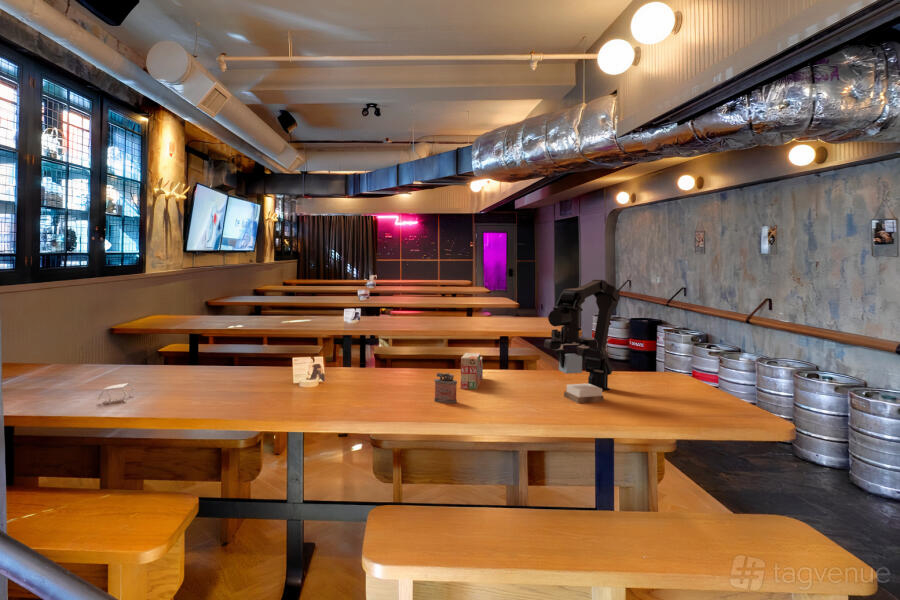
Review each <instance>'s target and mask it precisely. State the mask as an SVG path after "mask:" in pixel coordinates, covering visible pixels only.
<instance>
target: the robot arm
mask: <svg viewBox="0 0 900 600" xmlns="http://www.w3.org/2000/svg"><path fill="white" fill-rule="evenodd" d="M561 291H562V292H561V293H560V295H559V297H558V300H557V302H556V304H555V306H553V308H552V310H551V311H550V312H549V314H548V315H547V316H548V317H547V319H548V323H549V324H550V325H551V326H553V327H561V328H560V330H558V329H551V339H545V340H544V342H543V347H544V348H546V349H549V350H552V351H554V352H555V354H556V356H557V359H558V363H559V362H560V365H561V367H562V368H563V367H564V360H565V354H566V349H564V347H576V351H577V355H580V356H582V362H583V361H584V362H583V363H584V366H585V367H584V369H585V372H586V373H588V374H589V376H588V379H587V380H588V381H587V382H588V383H589V384H591V385H594V386H596V387H599V388H601V389H602V391H609V390H610V389H611V388H609V387H608V381H609V380H608V379H609V376H610V375H612V373H613V367H612V365H611V363H610V361H609V353H608V352H607V349H606V347H607V342H608V337H609V330H610V325H611V318H612V314H613V313H612V312H613V311H615V309H616V308H617V307H618V304H619V302H620V298H621V295H620V292H619V291H618V290H617V288H616V287H615V286H613V285H611V284H609V283H608V282H607V281H606V280H604V279H591V281H590V282H588V283H585V284H583V285H580V286H578V287H576V288H575V287H573V288H565V289H563V290H561ZM592 295H593V296H594V297H595V299H596V300H595V303H596V306H597V308H598V313H597V318H596V323H595V324H596V325H595V330H594V335H593V338H592V337H586V338H585V337H584V338H580V332H581V331H582V327H580V323H581V322H580V314H581V312H583V309H582V307H581V306H582V304H584V303H585V302H586V299H587V298H588V297H590V296H592ZM588 383H587V384H588Z"/></svg>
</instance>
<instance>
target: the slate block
mask: <svg viewBox="0 0 900 600" xmlns="http://www.w3.org/2000/svg"><path fill="white" fill-rule="evenodd" d="M558 371H560V372H562V373H564V374H582V373H583V361H582V356H580V355H577V354H576V353H574V352H573V353H565V360H564V367H563V368H562V367H561V365H560V362H559V361H558Z"/></svg>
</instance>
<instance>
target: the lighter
mask: <svg viewBox="0 0 900 600" xmlns="http://www.w3.org/2000/svg"><path fill="white" fill-rule="evenodd" d="M436 377H438V378H434V400H433V401H434V402H436V403H441V402H442V403H444V404H457V403H458V400H457V383H458V380H455V379H454V377H455V375H454V374H450V373H449V372H446V373H443V372H437V373H436Z"/></svg>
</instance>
